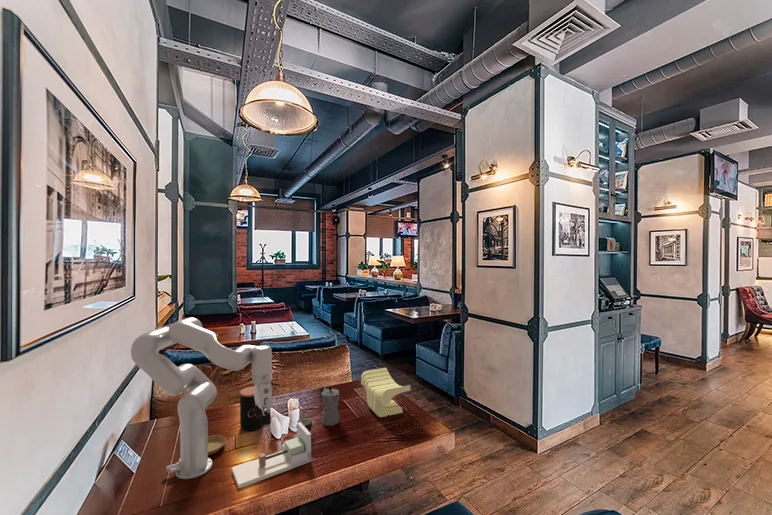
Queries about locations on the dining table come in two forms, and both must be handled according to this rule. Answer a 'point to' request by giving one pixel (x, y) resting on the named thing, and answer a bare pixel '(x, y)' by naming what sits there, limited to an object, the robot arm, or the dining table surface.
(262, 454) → the cord block
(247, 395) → the coffee jar
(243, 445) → the dining table surface
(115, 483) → the dining table surface
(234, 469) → the shelf lane
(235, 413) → the dining table surface
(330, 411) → the coffeepot
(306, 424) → the mate gourd
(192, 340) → the robot arm
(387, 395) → the slatted curved stool
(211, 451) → the plant saucer
